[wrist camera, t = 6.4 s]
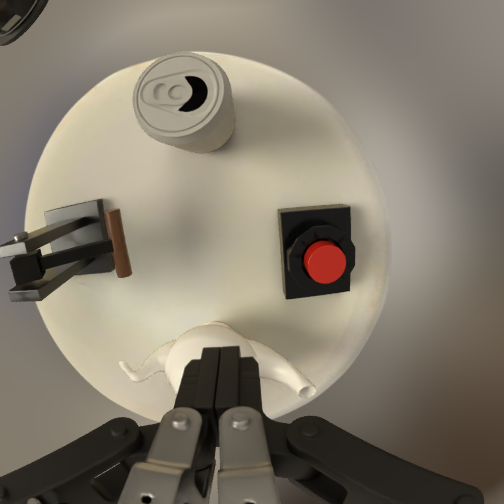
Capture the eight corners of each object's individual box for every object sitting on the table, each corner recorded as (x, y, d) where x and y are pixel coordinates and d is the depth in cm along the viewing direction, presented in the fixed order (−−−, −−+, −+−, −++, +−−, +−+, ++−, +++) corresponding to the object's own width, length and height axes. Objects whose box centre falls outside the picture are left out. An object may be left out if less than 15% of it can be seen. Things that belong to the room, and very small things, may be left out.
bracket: (101, 198, 27) (35, 218, 16) (115, 268, 30) (62, 317, 18) (49, 210, 27) (-19, 233, 16) (63, 273, 30) (6, 316, 18)
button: (302, 242, 26) (307, 247, 24) (339, 238, 26) (346, 243, 24) (304, 278, 27) (308, 286, 25) (339, 274, 27) (345, 281, 25)
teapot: (130, 298, 31) (98, 342, 22) (304, 305, 32) (325, 353, 23) (141, 363, 33) (120, 412, 25) (294, 369, 34) (308, 422, 26)
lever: (118, 207, 24) (120, 209, 22) (130, 270, 25) (134, 276, 23) (11, 235, 18) (3, 239, 16) (27, 297, 20) (23, 306, 18)
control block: (277, 209, 29) (283, 215, 25) (343, 203, 29) (357, 209, 25) (283, 291, 31) (288, 307, 27) (343, 283, 31) (356, 298, 27)
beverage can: (230, 157, 27) (222, 148, 15) (167, 150, 26) (118, 140, 15) (240, 96, 25) (239, 49, 14) (177, 91, 25) (138, 47, 13)
